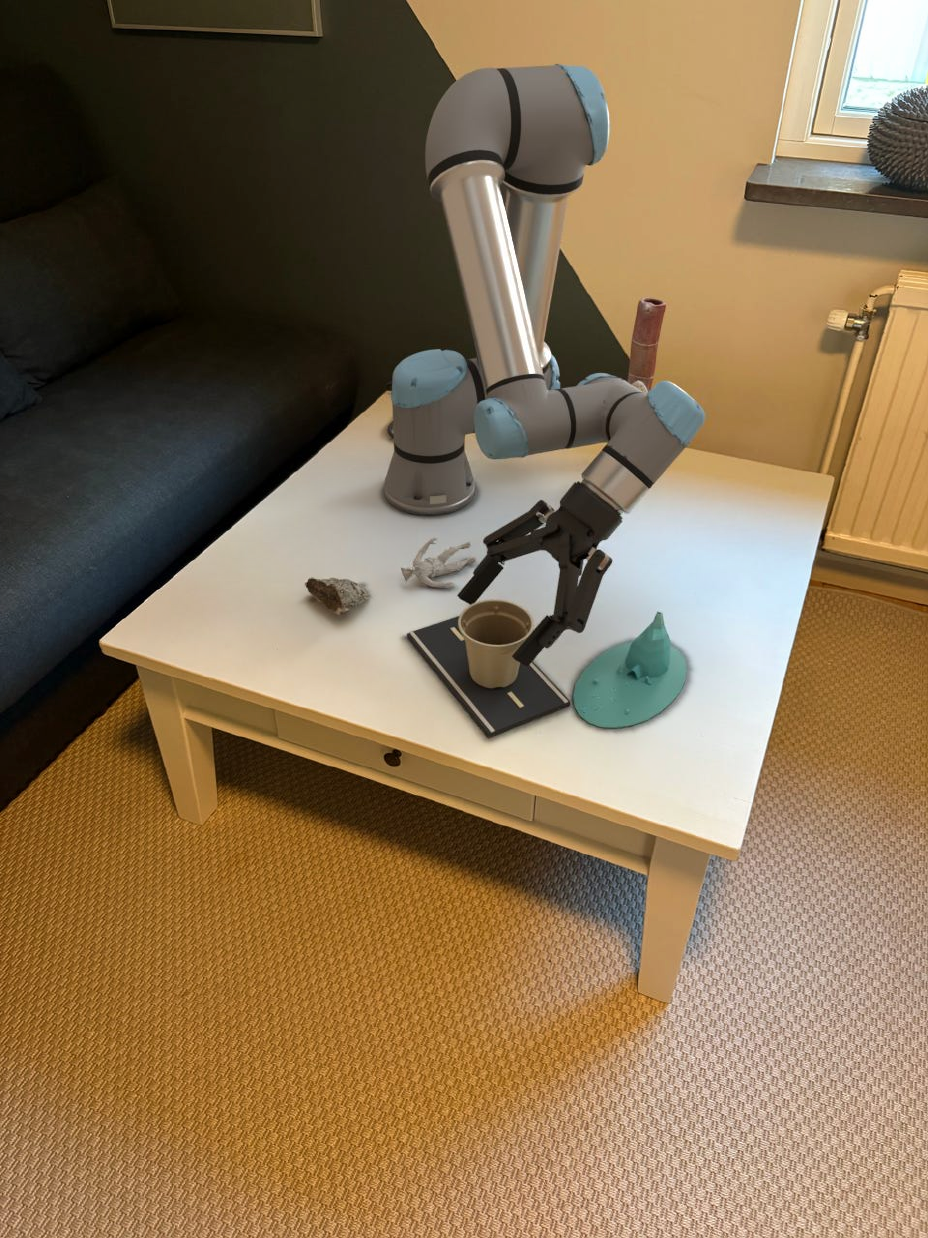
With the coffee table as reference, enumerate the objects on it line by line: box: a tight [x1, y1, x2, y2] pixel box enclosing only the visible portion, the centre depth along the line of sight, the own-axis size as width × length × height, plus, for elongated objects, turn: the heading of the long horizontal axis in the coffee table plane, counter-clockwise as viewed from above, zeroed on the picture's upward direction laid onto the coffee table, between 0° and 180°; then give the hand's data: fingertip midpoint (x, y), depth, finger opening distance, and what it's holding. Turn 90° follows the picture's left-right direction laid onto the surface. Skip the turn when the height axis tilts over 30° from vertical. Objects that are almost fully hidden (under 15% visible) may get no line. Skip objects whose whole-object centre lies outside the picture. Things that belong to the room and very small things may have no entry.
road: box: [406, 615, 571, 739], centre depth 125 cm, size 22×12×1 cm, turn 30°
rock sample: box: [304, 576, 371, 616], centre depth 135 cm, size 10×8×9 cm
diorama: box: [572, 611, 688, 730], centre depth 121 cm, size 12×20×9 cm, turn 141°
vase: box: [626, 296, 667, 394], centre depth 160 cm, size 11×7×30 cm
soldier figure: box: [400, 537, 477, 589], centre depth 141 cm, size 8×5×12 cm
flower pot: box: [458, 598, 535, 688], centre depth 121 cm, size 9×9×9 cm
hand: (490, 630), depth 119 cm, fingers open, 13 cm apart
